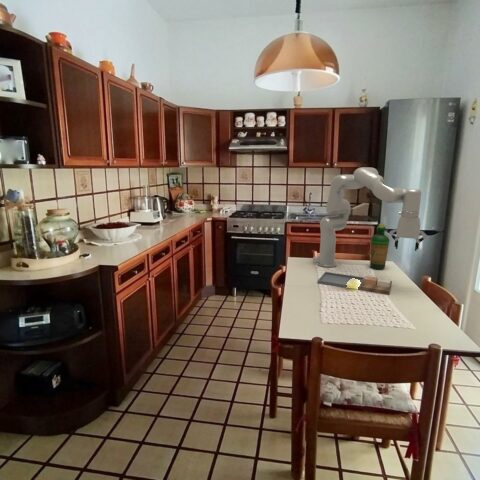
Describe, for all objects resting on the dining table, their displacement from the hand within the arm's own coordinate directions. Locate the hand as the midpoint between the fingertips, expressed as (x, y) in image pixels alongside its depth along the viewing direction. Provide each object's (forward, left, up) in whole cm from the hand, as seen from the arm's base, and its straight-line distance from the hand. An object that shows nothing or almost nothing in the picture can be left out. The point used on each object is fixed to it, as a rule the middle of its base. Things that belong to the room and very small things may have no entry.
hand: (406, 249), depth 171 cm
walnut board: (-12, 0, -22) cm, 25 cm away
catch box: (-30, 0, -22) cm, 37 cm away
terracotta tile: (-15, 0, -20) cm, 25 cm away
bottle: (-15, +38, -22) cm, 47 cm away
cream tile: (-9, 0, -20) cm, 22 cm away
